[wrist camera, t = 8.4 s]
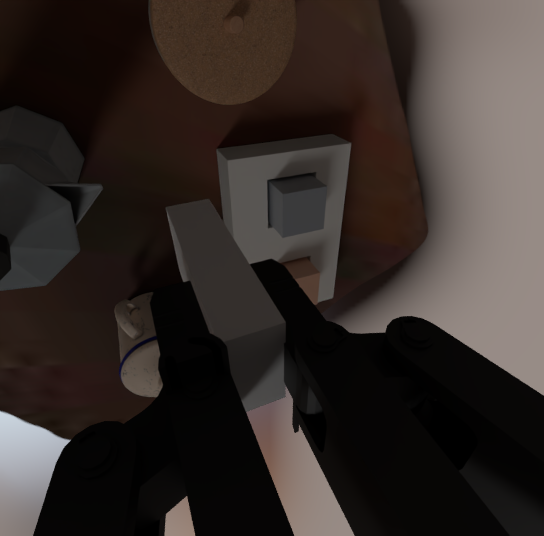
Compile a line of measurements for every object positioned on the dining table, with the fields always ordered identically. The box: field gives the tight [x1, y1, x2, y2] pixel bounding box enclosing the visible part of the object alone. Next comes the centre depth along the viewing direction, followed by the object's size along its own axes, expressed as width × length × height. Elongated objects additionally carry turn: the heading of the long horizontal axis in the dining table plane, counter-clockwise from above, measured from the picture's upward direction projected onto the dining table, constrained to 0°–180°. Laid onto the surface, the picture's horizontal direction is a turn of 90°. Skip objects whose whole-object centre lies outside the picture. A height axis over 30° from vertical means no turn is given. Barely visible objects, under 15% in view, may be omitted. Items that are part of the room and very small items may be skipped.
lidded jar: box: [148, 0, 297, 105], centre depth 28 cm, size 11×11×9 cm
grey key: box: [267, 173, 327, 238], centre depth 39 cm, size 5×5×4 cm
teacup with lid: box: [115, 292, 163, 397], centre depth 41 cm, size 12×9×12 cm
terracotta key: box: [281, 257, 320, 305], centre depth 46 cm, size 5×5×4 cm
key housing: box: [217, 134, 351, 302], centre depth 45 cm, size 22×14×4 cm, turn 1°
